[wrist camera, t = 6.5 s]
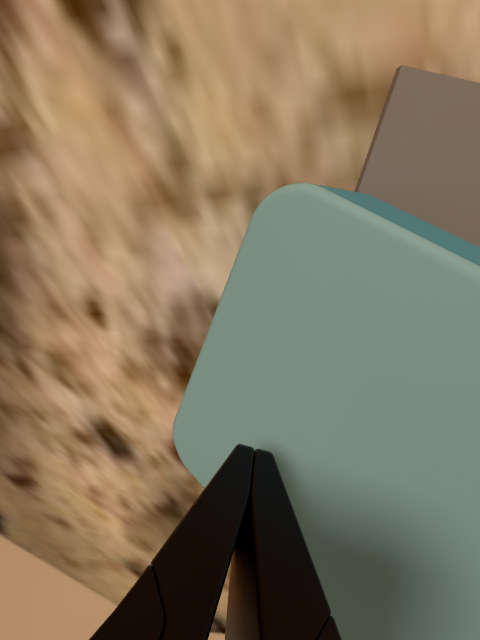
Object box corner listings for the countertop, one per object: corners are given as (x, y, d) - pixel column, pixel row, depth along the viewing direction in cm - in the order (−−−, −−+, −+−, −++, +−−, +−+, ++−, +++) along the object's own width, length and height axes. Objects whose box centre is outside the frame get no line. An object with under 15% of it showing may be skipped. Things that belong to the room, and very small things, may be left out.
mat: (265, 451, 20) (264, 460, 20) (397, 68, 12) (401, 65, 11) (487, 509, 20) (492, 519, 20) (791, 158, 11) (815, 159, 11)
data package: (228, 405, 19) (447, 609, 14) (161, 445, 16) (419, 734, 11) (336, 177, 13) (771, 385, 8) (268, 161, 10) (941, 500, 5)
